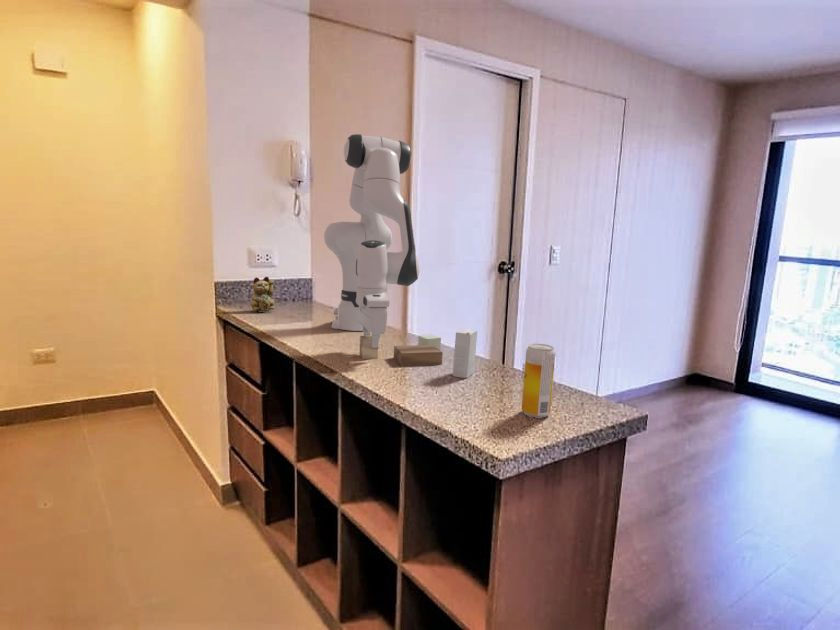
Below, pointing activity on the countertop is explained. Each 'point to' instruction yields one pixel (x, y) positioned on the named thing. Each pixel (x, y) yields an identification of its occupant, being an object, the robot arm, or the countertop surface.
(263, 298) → the decorative figurine
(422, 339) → the sage cube
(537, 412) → the beer can
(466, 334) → the skincare box
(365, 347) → the oak block
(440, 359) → the walnut block
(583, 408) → the countertop surface
